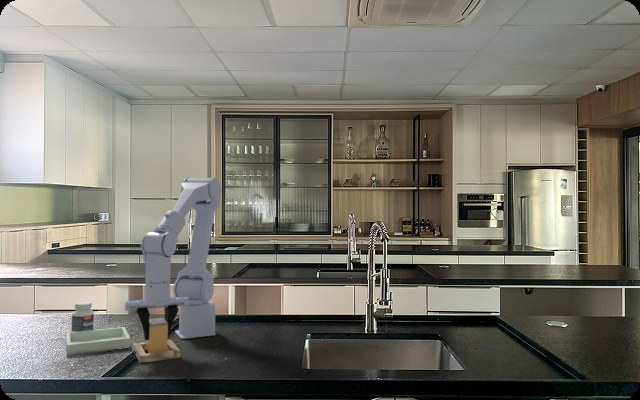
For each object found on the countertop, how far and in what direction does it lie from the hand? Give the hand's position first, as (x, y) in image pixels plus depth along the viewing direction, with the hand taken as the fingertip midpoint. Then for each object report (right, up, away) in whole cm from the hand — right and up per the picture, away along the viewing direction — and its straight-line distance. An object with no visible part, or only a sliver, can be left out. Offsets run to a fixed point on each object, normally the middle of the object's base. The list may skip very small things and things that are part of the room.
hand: (156, 337), depth 114 cm
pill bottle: (-25, -4, +14) cm, 29 cm away
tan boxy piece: (0, -3, 0) cm, 3 cm away
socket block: (0, -4, 0) cm, 4 cm away
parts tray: (-17, -4, +5) cm, 18 cm away
